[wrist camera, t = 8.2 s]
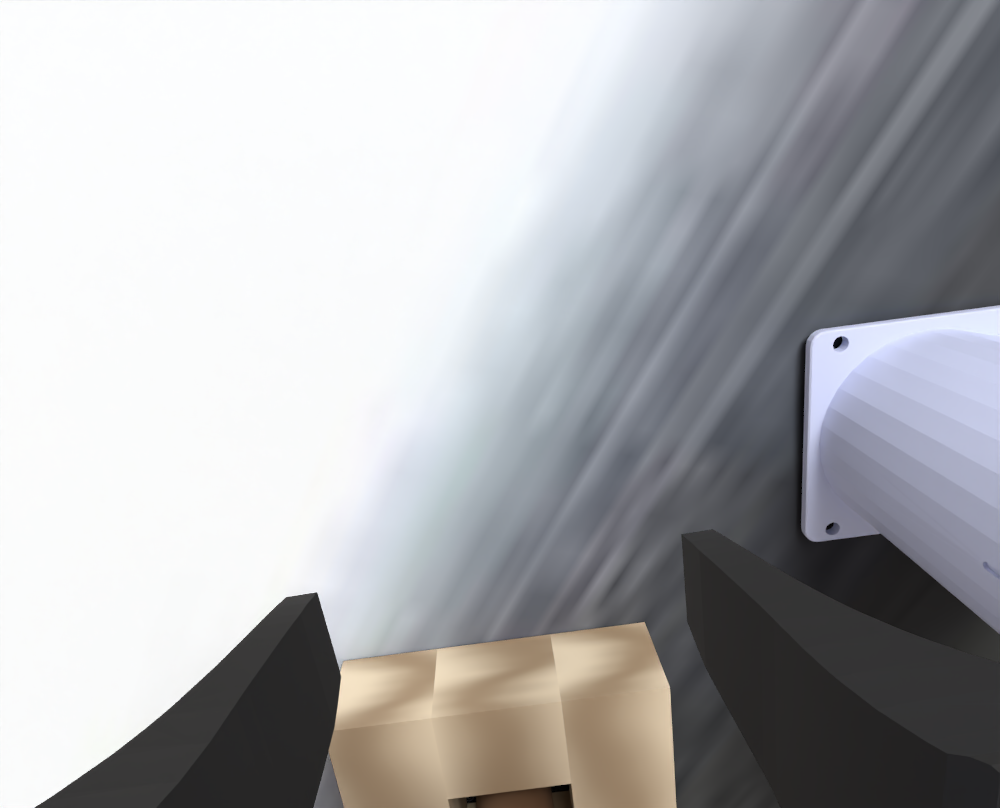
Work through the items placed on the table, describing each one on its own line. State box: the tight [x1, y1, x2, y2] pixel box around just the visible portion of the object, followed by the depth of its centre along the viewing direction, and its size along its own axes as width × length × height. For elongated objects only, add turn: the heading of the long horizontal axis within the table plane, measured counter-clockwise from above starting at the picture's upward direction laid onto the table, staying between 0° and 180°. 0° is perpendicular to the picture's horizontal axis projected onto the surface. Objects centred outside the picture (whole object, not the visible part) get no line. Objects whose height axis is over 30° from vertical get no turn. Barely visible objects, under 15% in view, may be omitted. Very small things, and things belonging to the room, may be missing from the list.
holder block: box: [329, 622, 676, 808], centre depth 25 cm, size 12×12×4 cm
